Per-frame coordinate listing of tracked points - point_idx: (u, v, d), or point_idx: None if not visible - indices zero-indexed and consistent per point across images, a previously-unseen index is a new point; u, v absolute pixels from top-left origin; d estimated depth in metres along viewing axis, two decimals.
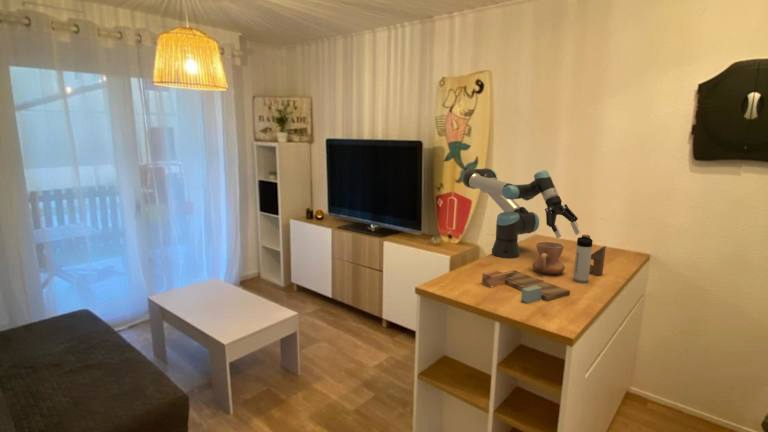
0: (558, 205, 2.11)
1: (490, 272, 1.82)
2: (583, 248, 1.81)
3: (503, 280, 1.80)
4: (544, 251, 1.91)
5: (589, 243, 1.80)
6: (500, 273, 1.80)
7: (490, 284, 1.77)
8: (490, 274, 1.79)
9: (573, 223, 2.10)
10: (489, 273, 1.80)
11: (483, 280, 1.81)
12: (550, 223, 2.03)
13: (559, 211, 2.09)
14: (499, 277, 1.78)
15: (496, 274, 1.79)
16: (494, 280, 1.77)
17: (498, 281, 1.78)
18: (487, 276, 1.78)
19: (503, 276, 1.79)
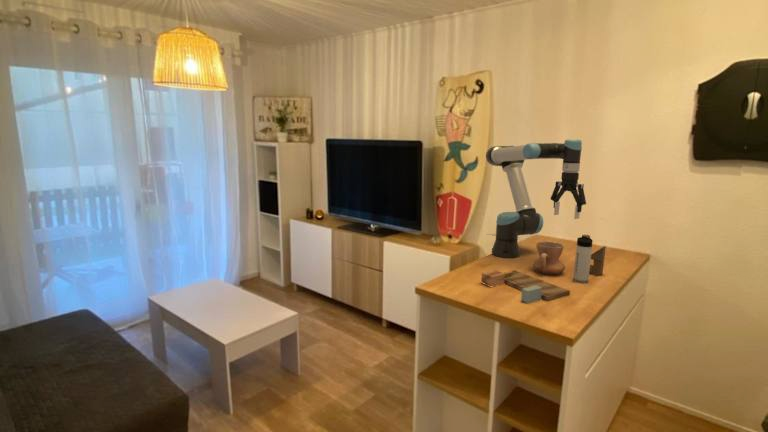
0: (570, 181, 1.96)
1: (489, 272, 1.82)
2: (583, 248, 1.81)
3: (502, 280, 1.80)
4: (544, 251, 1.91)
5: (589, 243, 1.80)
6: (499, 273, 1.81)
7: (490, 284, 1.77)
8: (489, 274, 1.79)
9: None
10: (488, 273, 1.80)
11: (482, 280, 1.81)
12: None
13: (566, 188, 1.97)
14: (498, 277, 1.78)
15: (495, 274, 1.79)
16: (494, 280, 1.77)
17: (497, 281, 1.78)
18: (487, 276, 1.78)
19: (502, 276, 1.79)
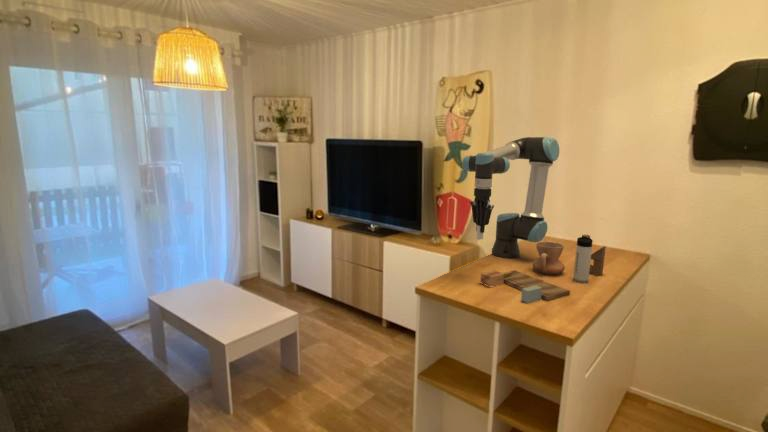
0: None
1: (488, 272, 1.81)
2: (583, 248, 1.81)
3: (501, 280, 1.80)
4: (544, 251, 1.91)
5: (589, 243, 1.80)
6: (498, 273, 1.80)
7: (489, 284, 1.77)
8: (489, 274, 1.79)
9: None
10: (487, 273, 1.80)
11: (482, 280, 1.81)
12: None
13: (479, 206, 1.83)
14: (498, 277, 1.78)
15: (495, 274, 1.79)
16: (493, 281, 1.77)
17: (497, 281, 1.78)
18: (486, 276, 1.78)
19: (501, 276, 1.79)
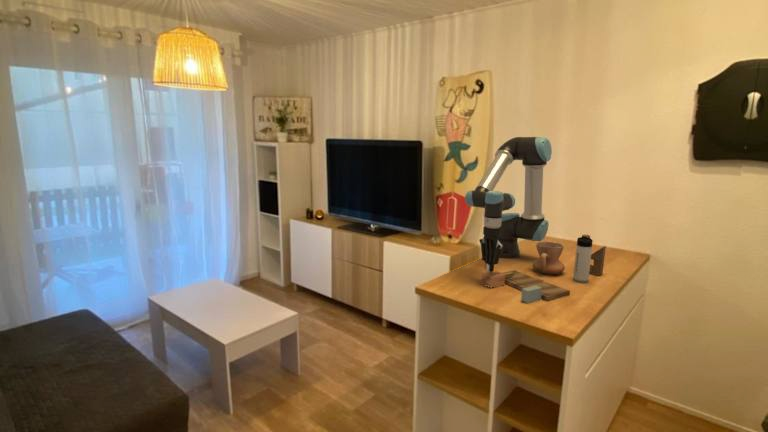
0: None
1: (489, 273, 1.80)
2: (583, 248, 1.81)
3: (503, 281, 1.78)
4: (544, 251, 1.91)
5: (589, 243, 1.80)
6: (500, 274, 1.79)
7: (490, 285, 1.76)
8: (489, 275, 1.77)
9: None
10: (488, 273, 1.79)
11: (482, 281, 1.79)
12: (483, 260, 1.84)
13: (488, 244, 1.80)
14: (499, 278, 1.77)
15: (496, 275, 1.78)
16: (494, 281, 1.76)
17: (498, 282, 1.77)
18: (487, 276, 1.77)
19: (503, 277, 1.78)
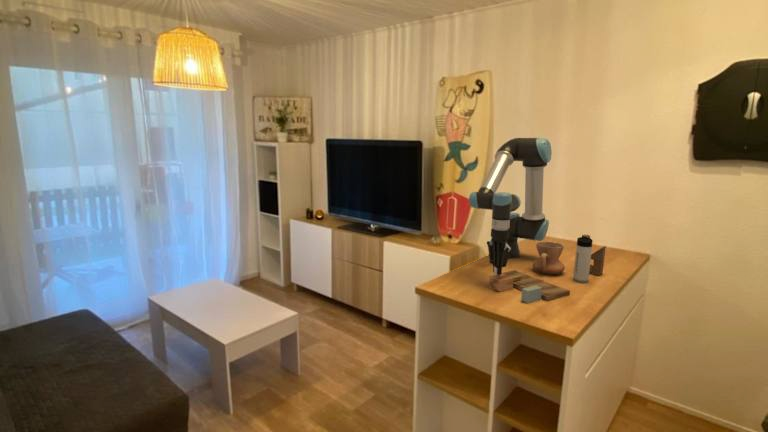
0: None
1: (497, 276, 1.76)
2: (583, 248, 1.81)
3: (511, 284, 1.74)
4: (544, 251, 1.91)
5: (589, 243, 1.80)
6: (508, 277, 1.75)
7: (497, 288, 1.72)
8: (497, 278, 1.73)
9: None
10: (496, 277, 1.75)
11: (490, 284, 1.75)
12: None
13: (496, 247, 1.76)
14: (507, 281, 1.73)
15: (504, 278, 1.74)
16: (502, 285, 1.72)
17: (506, 285, 1.73)
18: (495, 280, 1.73)
19: (511, 280, 1.74)
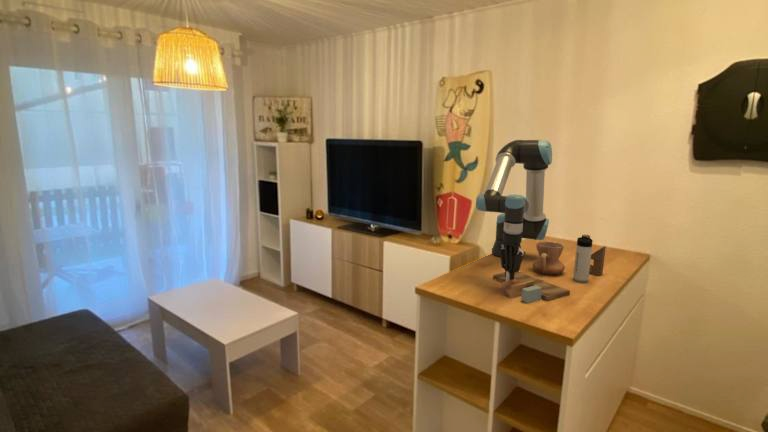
0: None
1: (510, 281, 1.70)
2: (583, 248, 1.81)
3: None
4: (544, 251, 1.91)
5: (589, 243, 1.80)
6: (520, 282, 1.69)
7: (510, 294, 1.66)
8: (510, 284, 1.68)
9: None
10: (508, 282, 1.69)
11: (502, 290, 1.69)
12: None
13: (509, 251, 1.70)
14: (520, 287, 1.67)
15: (516, 283, 1.68)
16: (515, 290, 1.66)
17: (518, 291, 1.67)
18: (507, 285, 1.67)
19: (524, 286, 1.68)
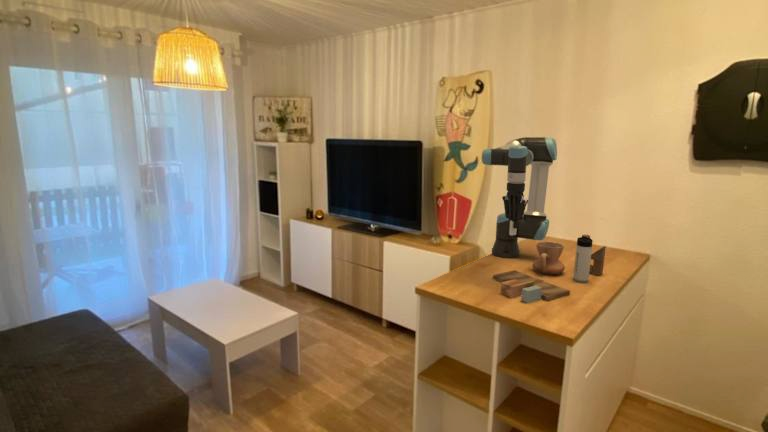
0: None
1: (509, 281, 1.70)
2: (583, 248, 1.81)
3: None
4: (544, 251, 1.91)
5: (589, 243, 1.80)
6: (520, 283, 1.69)
7: (510, 294, 1.66)
8: (510, 284, 1.67)
9: None
10: (508, 282, 1.69)
11: (502, 290, 1.69)
12: (506, 217, 1.82)
13: (512, 200, 1.77)
14: (519, 287, 1.66)
15: (516, 284, 1.67)
16: (514, 291, 1.65)
17: (518, 291, 1.67)
18: (507, 286, 1.67)
19: (523, 286, 1.68)
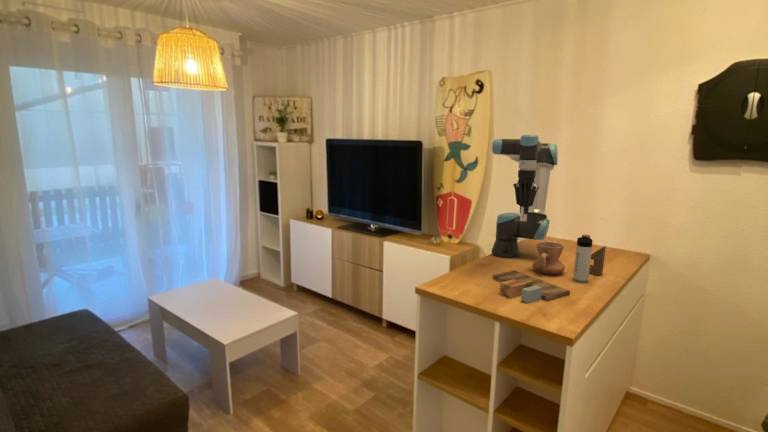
0: None
1: (509, 281, 1.70)
2: (583, 248, 1.81)
3: None
4: (544, 251, 1.91)
5: (589, 243, 1.80)
6: (519, 283, 1.69)
7: (509, 294, 1.66)
8: (509, 284, 1.67)
9: None
10: (507, 282, 1.69)
11: (501, 290, 1.69)
12: None
13: (523, 187, 1.85)
14: (519, 287, 1.67)
15: (515, 284, 1.67)
16: (514, 291, 1.65)
17: (517, 291, 1.67)
18: (506, 286, 1.67)
19: (523, 286, 1.68)
